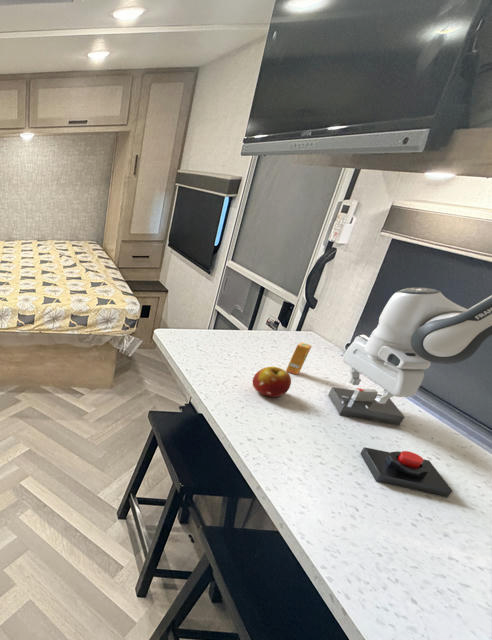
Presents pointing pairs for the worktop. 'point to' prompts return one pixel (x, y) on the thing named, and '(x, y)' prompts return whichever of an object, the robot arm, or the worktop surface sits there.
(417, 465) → the button
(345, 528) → the worktop surface
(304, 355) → the supplement box
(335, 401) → the panel
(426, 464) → the switch
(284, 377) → the fruit
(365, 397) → the stove knob
